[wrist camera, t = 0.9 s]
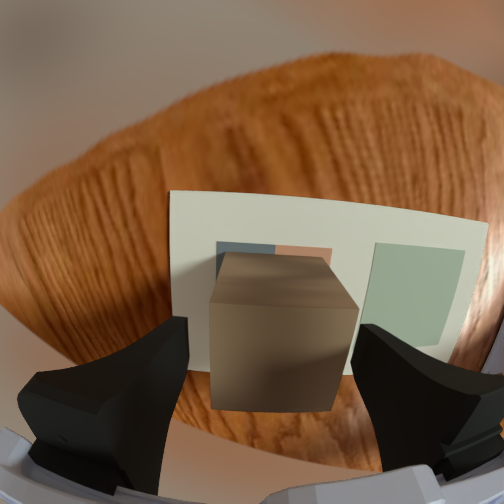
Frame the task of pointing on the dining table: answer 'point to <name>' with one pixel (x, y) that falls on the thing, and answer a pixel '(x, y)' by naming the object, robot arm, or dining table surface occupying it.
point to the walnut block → (278, 333)
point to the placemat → (332, 260)
